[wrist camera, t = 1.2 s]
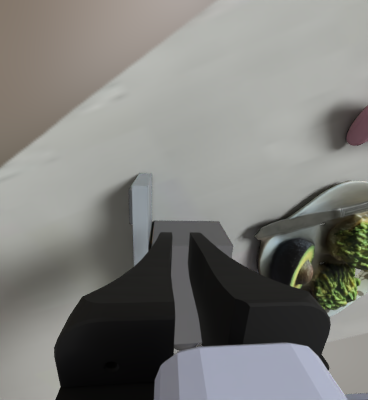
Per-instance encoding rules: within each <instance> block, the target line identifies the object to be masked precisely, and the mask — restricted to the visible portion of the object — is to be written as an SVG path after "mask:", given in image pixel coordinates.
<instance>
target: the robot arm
mask: <svg viewBox="0 0 368 400" xmlns="http://www.w3.org/2000/svg"><path fill="white" fill-rule="evenodd" d="M172 239H173V236H172V232H161V233H160V234H159V236H158V238H157V240H156V241H155V243H154V244H153V246H152V247H151V249H150V250H149V251H148V252H147V254H146V255H145V256H144V257H143V258H142V259H141V260H140V261H139V262H138V263H137V264H136V265H135V266H134V267H133V268H132V269H130V270H129V271H128V272H127V273H125V274H124V275H123V276H121V277H120V278H118V279H116V280H115V281H113V282H111V283H110V284H108V285H106V286H104V287H102V288H100V289H98V290H96V291H94V292H92V293H90V294H87V295H85V296H83V297H82V298H81V300H80V301H79V303H78V304H77V306H76V307H75V308H74V310H73V311H72V313H71V314H70V316H69V318H68V320H67V322H66V324H65V325H64V327H63V329H62V331H61V333H60V335H59V337H58V339H57V342H56V344H55V347H54V357H55V362H56V367H57V371H58V376H59V381H60V386H61V387H60V390H59V392H58V395H57V397H56V400H368V393H360V394H347V395H344V393H343V392H342V390H341V389H340V388H339V386H338V385H337V383H336V382H335V380H334V379H333V377H332V376H331V374H330V373H329V371H328V370H329V365H328V363H327V362H326V360H325V359H324V357H323V356H322V355H321V354H322V351H323V348H324V346H325V343H326V340H327V338H328V335H329V331H330V325H331V324H330V317H329V316H328V314H327V312H326V311H325V310H324V308H323V307H322V306H321V305H320V304H319V303H318V302H317V301H316V299H315V298H314V297H313V296H312V295H311V294H310V293H309V292H308V291H305V290H302V289H299V288H295V287H292V286H289V285H286V284H283V283H280V282H277V281H275V280H272V279H270V278H267V277H265V276H263V275H260V274H258V273H256V272H254V271H252V270H250V269H248V268H246V267H245V266H243V265H241V264H240V263H238V262H236V261H235V260H233V259H232V258H230V257H229V256H227V255H226V254H225V253H223V252H222V251H221V250H220V249H218V248H217V247H216V246H215V245H214V244H213V243H211V242H210V241H209V240H208V239H207V238H206V237H205V236H204V235H203V234H202V233H199V232H190V237H189V252H188V271H189V279H190V283H191V288H192V292H193V296H194V300H195V305H196V309H197V313H198V318H199V324H200V331H201V339H202V346H201V347H195V348H190V349H186V350H182V351H179V352H177V353H176V354H175V355H173V354H174V335H175V301H174V295H173V288H172V280H171V264H172Z"/></svg>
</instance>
